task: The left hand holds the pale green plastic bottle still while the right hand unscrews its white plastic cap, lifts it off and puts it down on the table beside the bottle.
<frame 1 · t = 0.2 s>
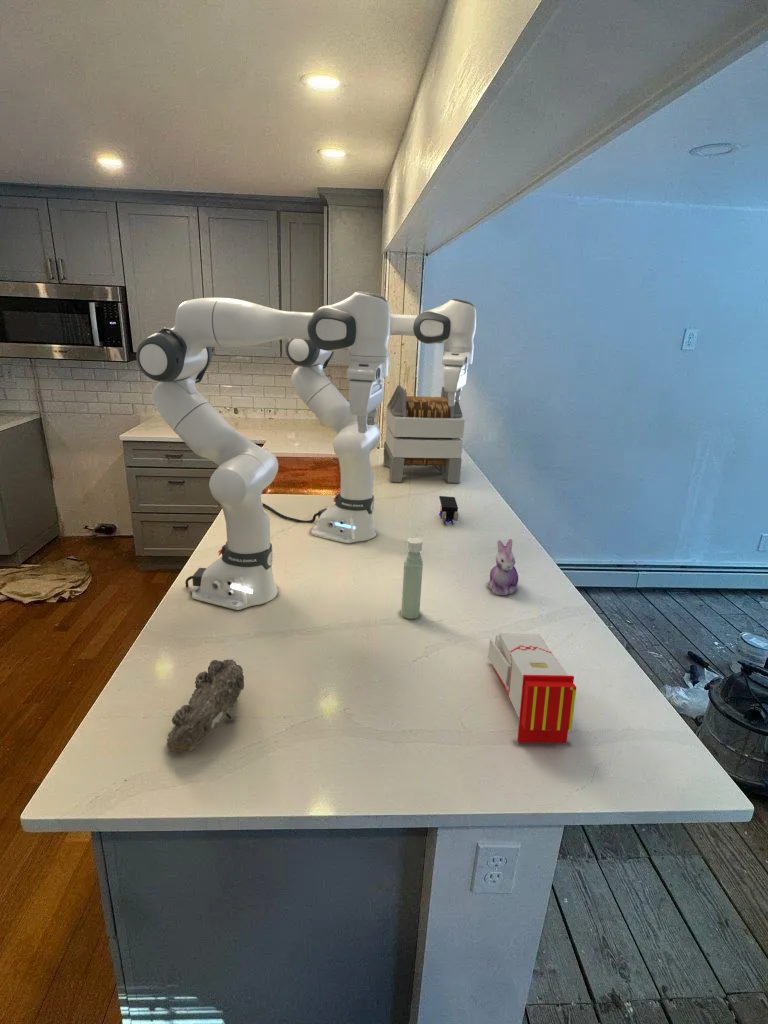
left hand: (366, 428, 133), 48 cm above the counter, tool pointing down, fingers open, 8 cm apart
right hand: (454, 403, 174), 48 cm above the counter, tool pointing down, fingers open, 8 cm apart
figurine: (503, 589, 163), on the counter
toy: (522, 696, 118), on the counter
fossil: (212, 717, 108), on the counter
bottle: (410, 614, 148), on the counter
figurine character: (447, 520, 215), on the counter
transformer: (419, 473, 275), on the counter
cap: (415, 541, 141), point 21 cm above the counter, screwed on, not yet turned
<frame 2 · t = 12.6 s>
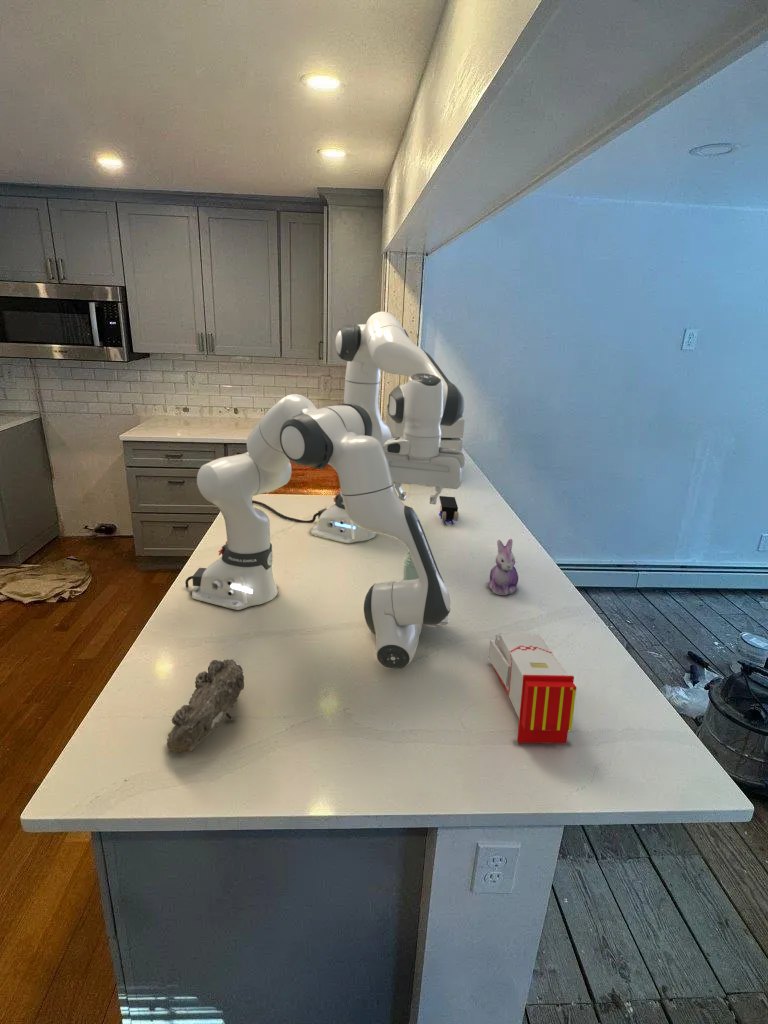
left hand: (411, 593, 147), 6 cm above the counter, tool horizontal, fingers closed on bottle, 5 cm apart
right hand: (417, 501, 137), 31 cm above the counter, tool pointing down, fingers open, 6 cm apart
bottle: (410, 614, 148), on the counter, touching left hand
everything else where it was.
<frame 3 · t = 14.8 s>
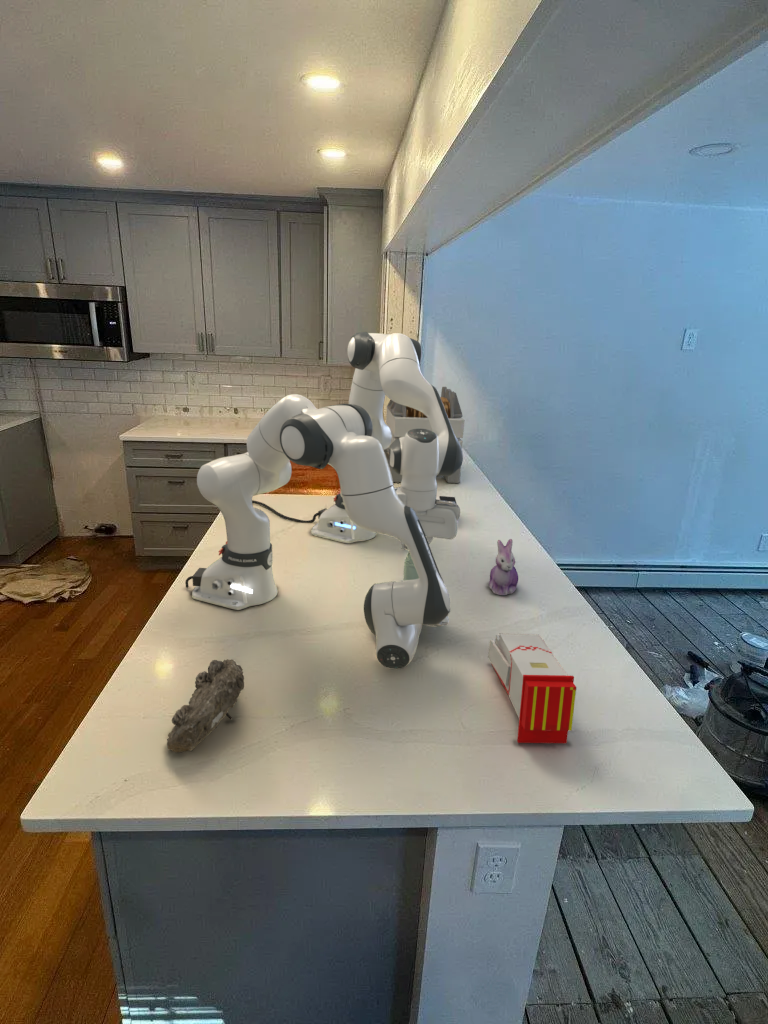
left hand: (411, 593, 147), 6 cm above the counter, tool horizontal, fingers closed on bottle, 5 cm apart
right hand: (414, 550, 142), 18 cm above the counter, tool pointing down, fingers closed on cap, 3 cm apart
bottle: (410, 614, 148), on the counter, touching left hand
cap: (415, 541, 141), point 21 cm above the counter, screwed on, not yet turned, touching right hand
everything else where it was.
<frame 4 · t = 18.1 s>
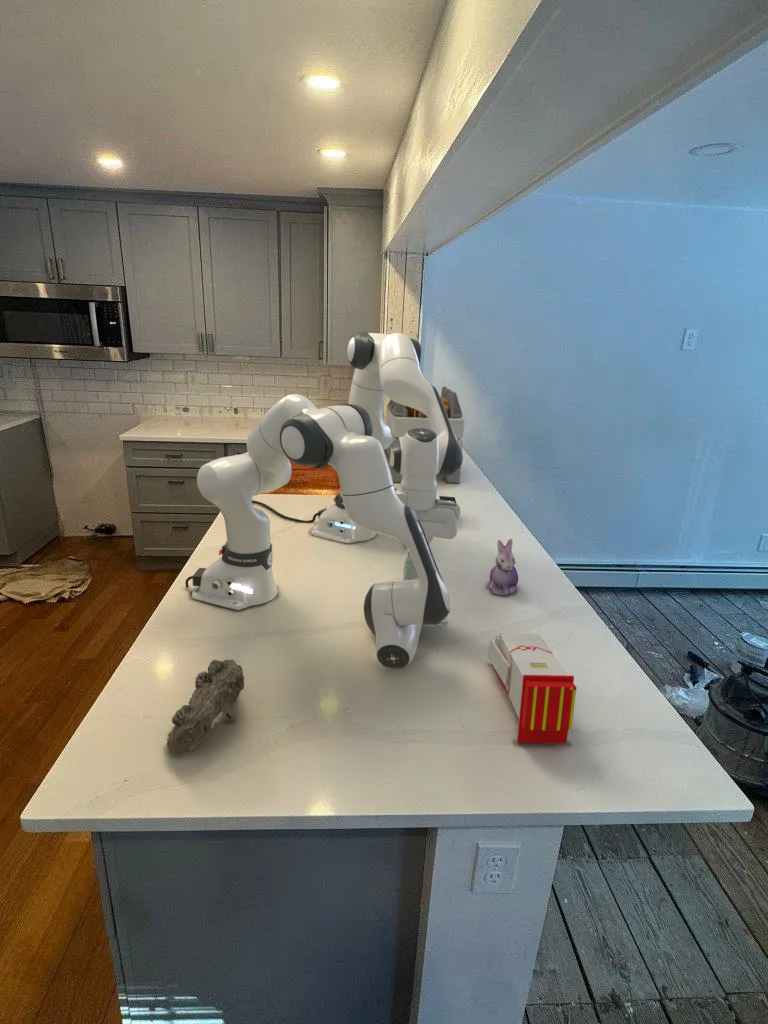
left hand: (411, 593, 147), 6 cm above the counter, tool horizontal, fingers closed on bottle, 5 cm apart
right hand: (414, 549, 141), 18 cm above the counter, tool pointing down, fingers closed on cap, 3 cm apart
bottle: (410, 614, 148), on the counter, touching left hand
cap: (415, 541, 141), point 21 cm above the counter, turned 85° so far, risen 0.1 cm, still on its thread, touching right hand
everything else where it was.
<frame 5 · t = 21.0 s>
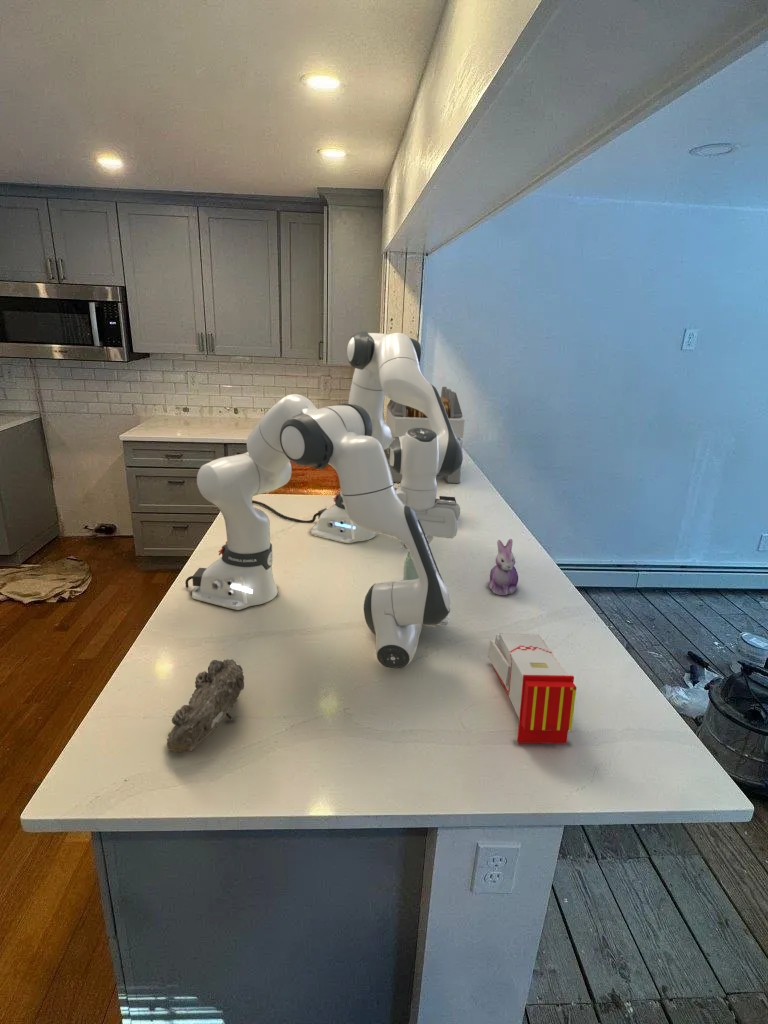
left hand: (411, 593, 147), 6 cm above the counter, tool horizontal, fingers closed on bottle, 5 cm apart
right hand: (414, 549, 141), 18 cm above the counter, tool pointing down, fingers closed on cap, 3 cm apart
bottle: (410, 614, 148), on the counter, touching left hand
cap: (415, 540, 141), point 21 cm above the counter, turned 169° so far, risen 0.2 cm, still on its thread, touching right hand
everything else where it was.
when the right hand's fingers open (2 cm above the counter, at t = 35.2 s): cap drops 2 cm, point 2 cm above the counter.
when the left hand's fingers open (6 cm above the counter, at t = 36.4 s): bottle stays where it is, on the counter.
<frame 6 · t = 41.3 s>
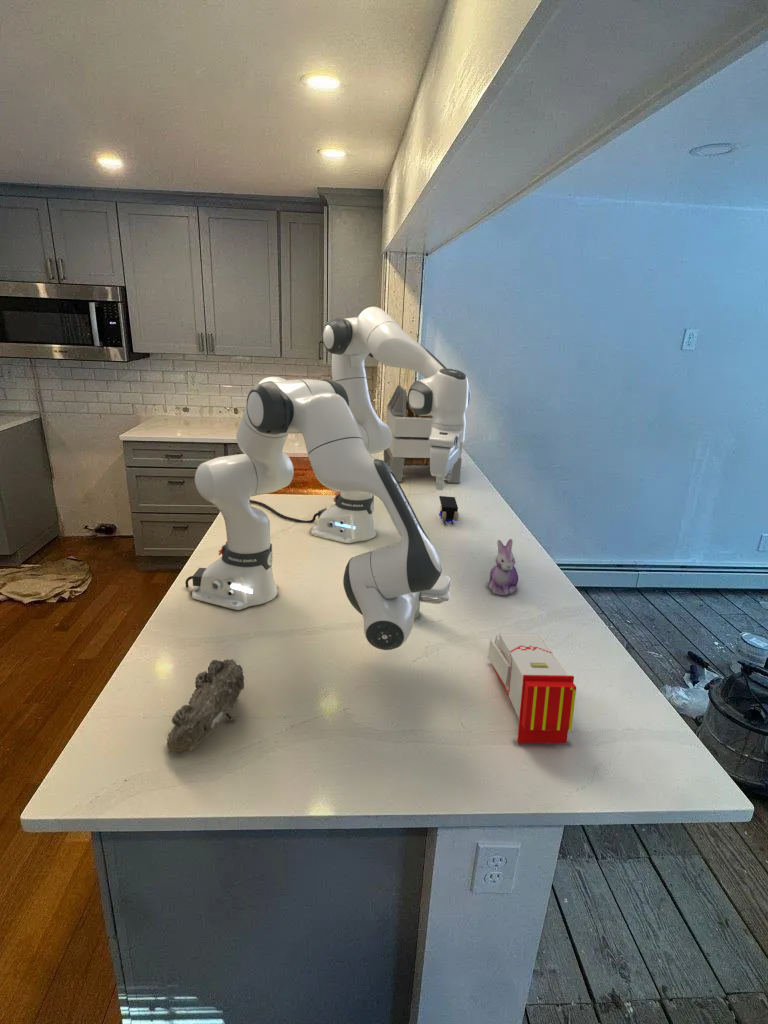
left hand: (407, 568, 130), 19 cm above the counter, tool horizontal, fingers open, 8 cm apart
right hand: (443, 484, 153), 31 cm above the counter, tool pointing down, fingers open, 8 cm apart
bottle: (410, 614, 148), on the counter
cap: (435, 580, 162), point 2 cm above the counter, off its thread
everything else where it was.
at the end: cap came off its thread; cap point 2.1 cm above the counter; the left hand is holding nothing; the right hand is holding nothing; bottle tilted 0°; bottle moved 0.0 cm from its start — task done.
